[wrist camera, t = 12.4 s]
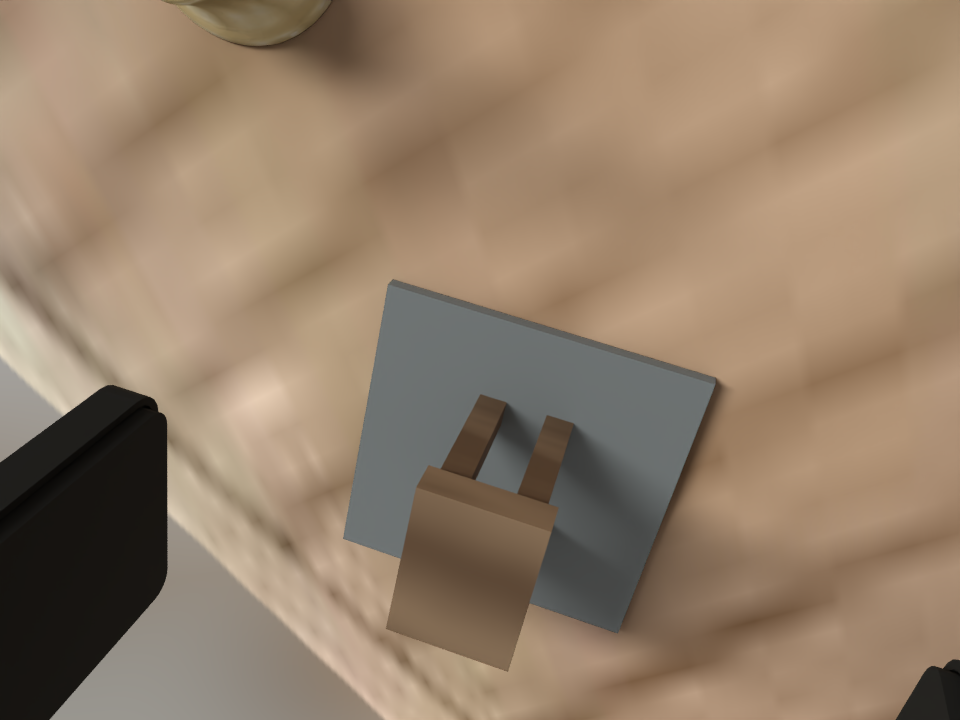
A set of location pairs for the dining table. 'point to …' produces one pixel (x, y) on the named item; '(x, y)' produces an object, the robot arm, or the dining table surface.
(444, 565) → the walnut stool
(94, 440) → the robot arm
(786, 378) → the dining table surface
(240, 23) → the hand bell
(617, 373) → the slate mat
